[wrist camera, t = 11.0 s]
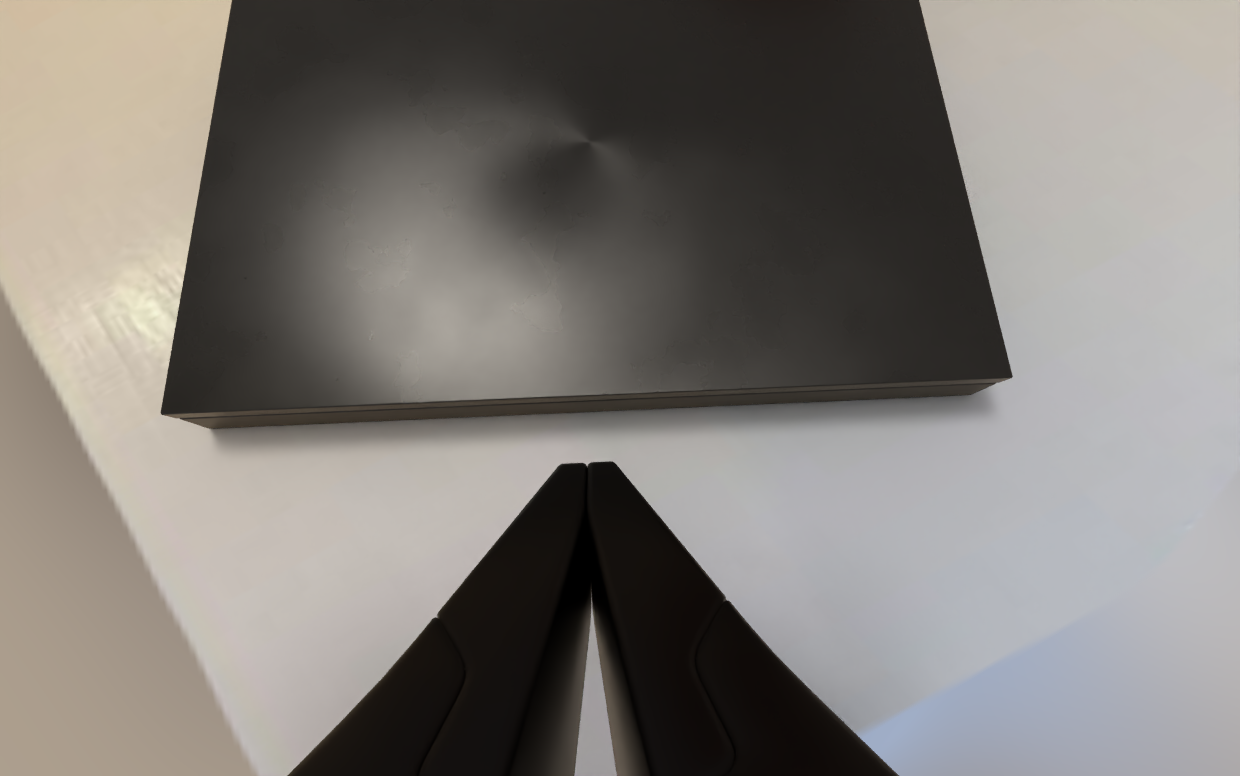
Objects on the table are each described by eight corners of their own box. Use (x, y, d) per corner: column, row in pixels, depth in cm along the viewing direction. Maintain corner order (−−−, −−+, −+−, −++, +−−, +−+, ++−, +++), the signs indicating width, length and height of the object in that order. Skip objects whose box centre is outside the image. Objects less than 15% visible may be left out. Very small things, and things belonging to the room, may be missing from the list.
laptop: (287, 24, 26) (267, -8, 25) (868, 15, 28) (883, -16, 26) (208, 429, 20) (175, 418, 19) (971, 395, 21) (999, 382, 20)
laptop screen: (252, -33, 24) (240, -52, 23) (895, -41, 25) (904, -59, 24) (178, 419, 19) (159, 414, 18) (997, 383, 20) (1013, 377, 19)
